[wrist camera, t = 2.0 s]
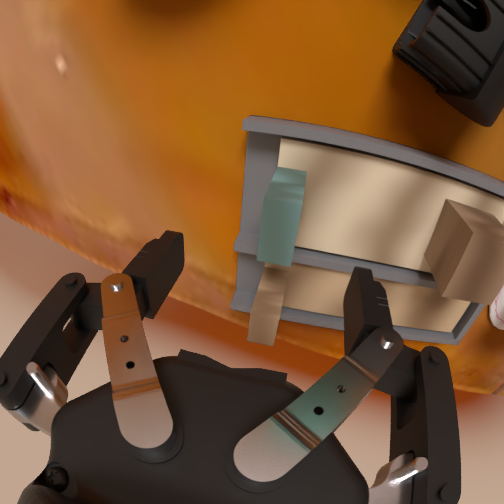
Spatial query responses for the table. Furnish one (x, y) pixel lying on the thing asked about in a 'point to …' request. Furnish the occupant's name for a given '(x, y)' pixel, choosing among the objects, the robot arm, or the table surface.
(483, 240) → the walnut cube
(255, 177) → the tray
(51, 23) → the table surface
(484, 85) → the end cap
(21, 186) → the table surface
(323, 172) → the strip
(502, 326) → the teacup
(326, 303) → the strip
